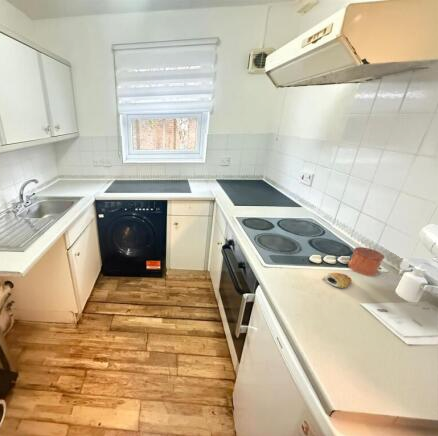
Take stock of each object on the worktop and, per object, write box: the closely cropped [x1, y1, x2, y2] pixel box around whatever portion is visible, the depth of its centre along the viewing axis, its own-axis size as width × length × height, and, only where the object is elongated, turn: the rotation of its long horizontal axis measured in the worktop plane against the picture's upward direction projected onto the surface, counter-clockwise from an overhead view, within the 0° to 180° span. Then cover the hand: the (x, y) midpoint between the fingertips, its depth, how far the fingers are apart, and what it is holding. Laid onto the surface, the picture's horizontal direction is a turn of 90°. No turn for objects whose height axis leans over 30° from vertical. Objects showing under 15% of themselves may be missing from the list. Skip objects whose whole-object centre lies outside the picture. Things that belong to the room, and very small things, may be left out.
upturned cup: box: [347, 246, 385, 277], centre depth 100 cm, size 10×10×8 cm
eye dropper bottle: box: [395, 264, 428, 304], centre depth 72 cm, size 4×6×12 cm
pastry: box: [323, 272, 352, 289], centre depth 93 cm, size 9×7×4 cm
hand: (411, 279), depth 72 cm, fingers closed on eye dropper bottle, 5 cm apart
